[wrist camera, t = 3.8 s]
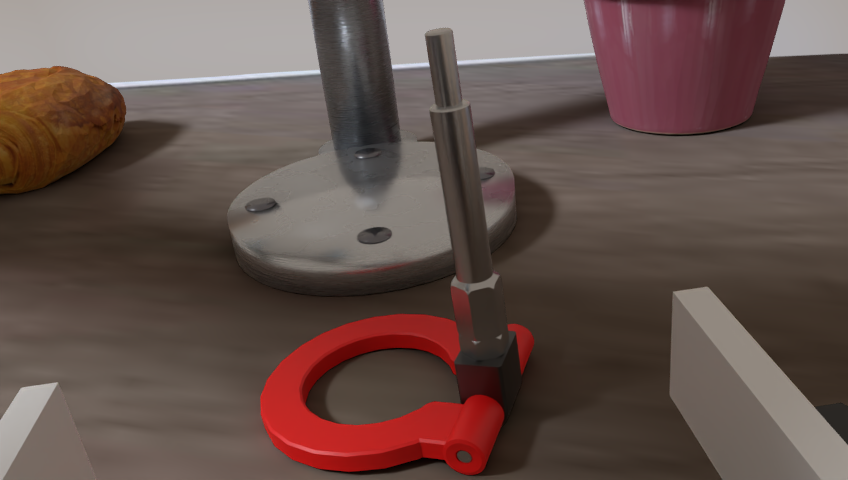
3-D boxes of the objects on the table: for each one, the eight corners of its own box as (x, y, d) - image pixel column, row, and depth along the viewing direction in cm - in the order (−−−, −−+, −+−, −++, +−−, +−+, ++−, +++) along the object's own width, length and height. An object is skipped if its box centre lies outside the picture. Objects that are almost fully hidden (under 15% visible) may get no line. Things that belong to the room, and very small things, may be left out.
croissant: (166, 152, 65) (150, 56, 63) (54, 202, 50) (27, 79, 48) (15, 157, 68) (-7, 65, 65) (-134, 206, 53) (-169, 89, 50)
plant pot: (576, 90, 60) (571, -88, 54) (771, 80, 56) (787, -111, 51) (567, 154, 47) (559, -67, 42) (816, 147, 44) (844, -96, 38)
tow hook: (221, 465, 26) (483, 503, 22) (94, 93, 21) (410, 67, 17) (331, 331, 33) (543, 344, 29) (257, 27, 28) (505, -1, 24)
